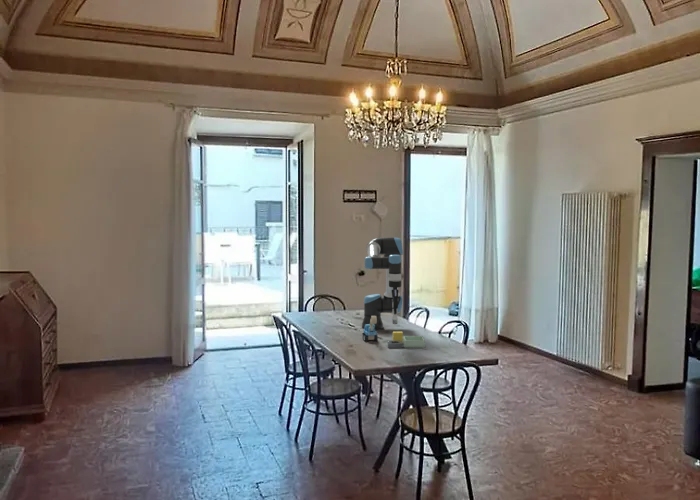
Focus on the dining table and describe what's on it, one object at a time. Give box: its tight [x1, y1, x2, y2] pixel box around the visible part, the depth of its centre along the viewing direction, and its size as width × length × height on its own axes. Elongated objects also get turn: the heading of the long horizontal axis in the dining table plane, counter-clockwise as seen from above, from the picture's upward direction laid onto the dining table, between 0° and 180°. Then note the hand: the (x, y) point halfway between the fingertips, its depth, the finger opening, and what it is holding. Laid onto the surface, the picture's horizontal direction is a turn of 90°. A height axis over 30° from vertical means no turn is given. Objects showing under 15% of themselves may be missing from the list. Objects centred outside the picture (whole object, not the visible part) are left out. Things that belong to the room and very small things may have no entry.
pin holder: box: [386, 340, 404, 349], centre depth 362 cm, size 9×9×2 cm
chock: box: [392, 331, 404, 342], centre depth 374 cm, size 4×6×6 cm, turn 89°
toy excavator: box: [361, 316, 379, 342], centre depth 376 cm, size 9×17×17 cm, turn 11°
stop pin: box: [392, 299, 398, 325], centre depth 360 cm, size 4×4×15 cm
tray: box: [403, 335, 426, 349], centre depth 363 cm, size 12×12×4 cm
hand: (395, 318), depth 361 cm, fingers closed on stop pin, 3 cm apart
